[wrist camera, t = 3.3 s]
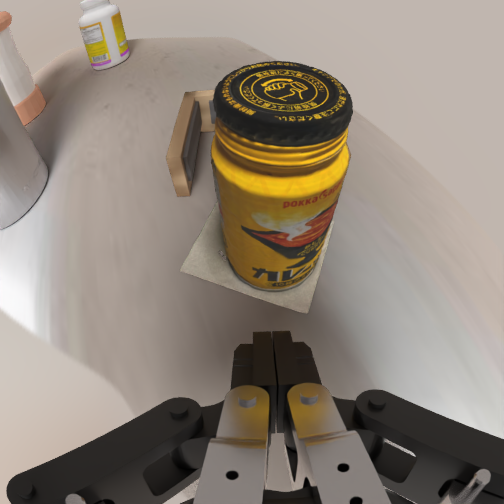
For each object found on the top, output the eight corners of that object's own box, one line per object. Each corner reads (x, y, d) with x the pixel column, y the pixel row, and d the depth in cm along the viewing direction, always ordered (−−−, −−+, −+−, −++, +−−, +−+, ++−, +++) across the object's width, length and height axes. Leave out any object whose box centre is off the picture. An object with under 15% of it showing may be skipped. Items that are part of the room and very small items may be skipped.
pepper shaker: (51, 106, 33) (11, -3, 17) (12, 136, 30) (-38, 29, 14) (39, 97, 35) (4, 3, 19) (4, 124, 33) (-39, 31, 16)
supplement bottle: (123, 51, 41) (109, -11, 30) (135, 57, 39) (121, -11, 28) (88, 66, 39) (70, 5, 28) (97, 75, 37) (77, 5, 25)
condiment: (307, 315, 18) (366, 166, 8) (180, 271, 20) (115, 116, 9) (333, 222, 21) (377, 69, 11) (224, 191, 23) (206, 41, 13)
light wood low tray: (177, 196, 23) (165, 158, 19) (191, 126, 27) (185, 92, 24) (339, 193, 23) (351, 155, 19) (320, 124, 27) (326, 90, 24)
